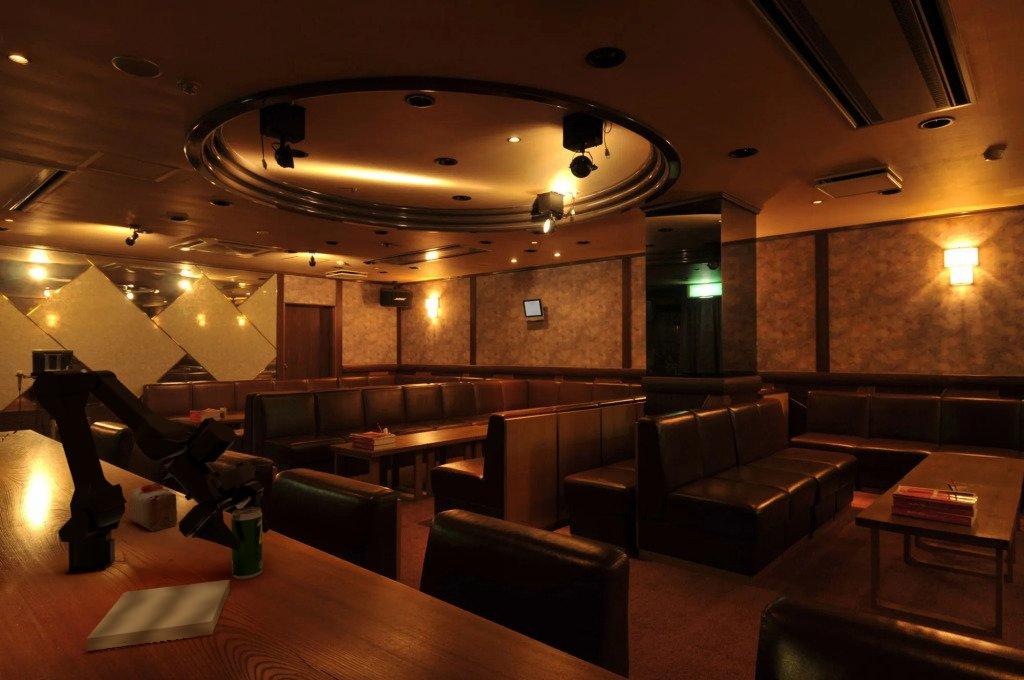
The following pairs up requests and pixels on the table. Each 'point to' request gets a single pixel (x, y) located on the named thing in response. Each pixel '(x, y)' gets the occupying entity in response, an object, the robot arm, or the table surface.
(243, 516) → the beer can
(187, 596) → the serving board
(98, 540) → the robot arm
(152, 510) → the food item
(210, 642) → the table surface
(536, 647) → the table surface
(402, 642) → the table surface
